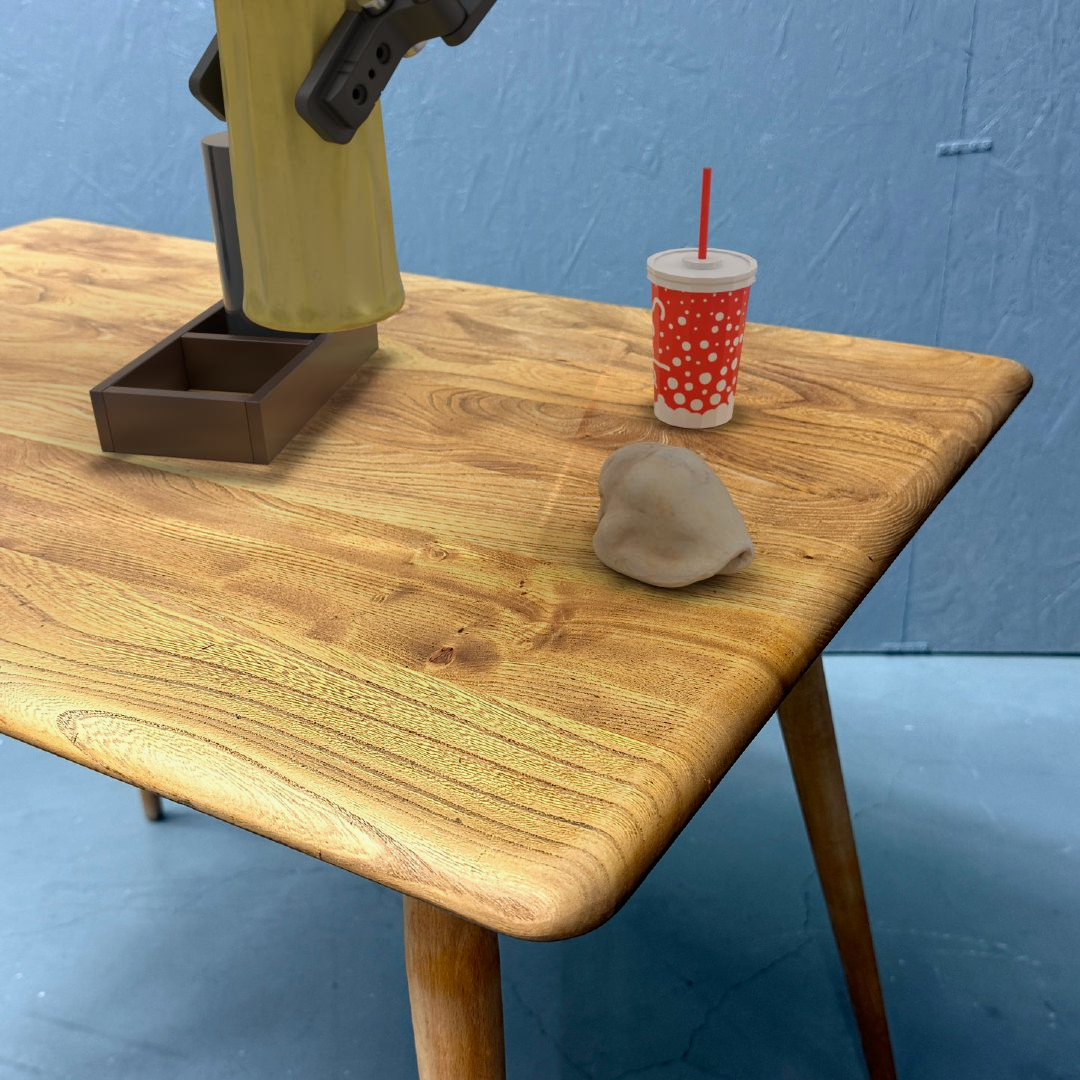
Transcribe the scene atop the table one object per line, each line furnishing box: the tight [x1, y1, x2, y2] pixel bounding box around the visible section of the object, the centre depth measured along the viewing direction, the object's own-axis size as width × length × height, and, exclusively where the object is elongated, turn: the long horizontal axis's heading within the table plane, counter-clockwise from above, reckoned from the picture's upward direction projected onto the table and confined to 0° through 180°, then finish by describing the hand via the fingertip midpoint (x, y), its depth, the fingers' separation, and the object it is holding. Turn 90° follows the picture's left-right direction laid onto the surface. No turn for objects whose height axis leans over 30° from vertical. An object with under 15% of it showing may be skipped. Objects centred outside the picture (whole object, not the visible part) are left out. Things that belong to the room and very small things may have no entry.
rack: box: [88, 297, 380, 466], centre depth 69 cm, size 10×18×4 cm, turn 169°
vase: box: [212, 0, 406, 333], centre depth 41 cm, size 6×6×14 cm
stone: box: [592, 440, 756, 589], centre depth 53 cm, size 7×6×8 cm
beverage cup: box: [646, 166, 758, 429], centre depth 65 cm, size 6×6×14 cm
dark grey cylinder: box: [199, 130, 321, 340], centre depth 70 cm, size 6×6×14 cm
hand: (263, 116), depth 39 cm, fingers closed on vase, 5 cm apart
